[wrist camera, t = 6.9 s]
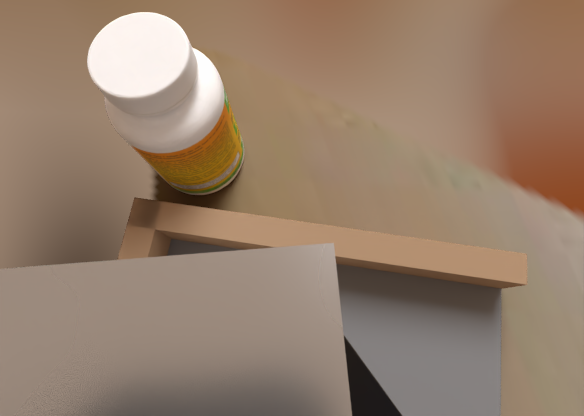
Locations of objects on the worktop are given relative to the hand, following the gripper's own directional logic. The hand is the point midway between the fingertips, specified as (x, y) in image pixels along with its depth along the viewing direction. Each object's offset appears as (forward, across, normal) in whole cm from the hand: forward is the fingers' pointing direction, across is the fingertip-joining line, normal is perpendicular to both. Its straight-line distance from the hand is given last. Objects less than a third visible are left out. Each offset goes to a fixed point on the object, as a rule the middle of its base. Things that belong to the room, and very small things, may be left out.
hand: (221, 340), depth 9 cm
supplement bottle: (+16, +4, +2) cm, 17 cm away
